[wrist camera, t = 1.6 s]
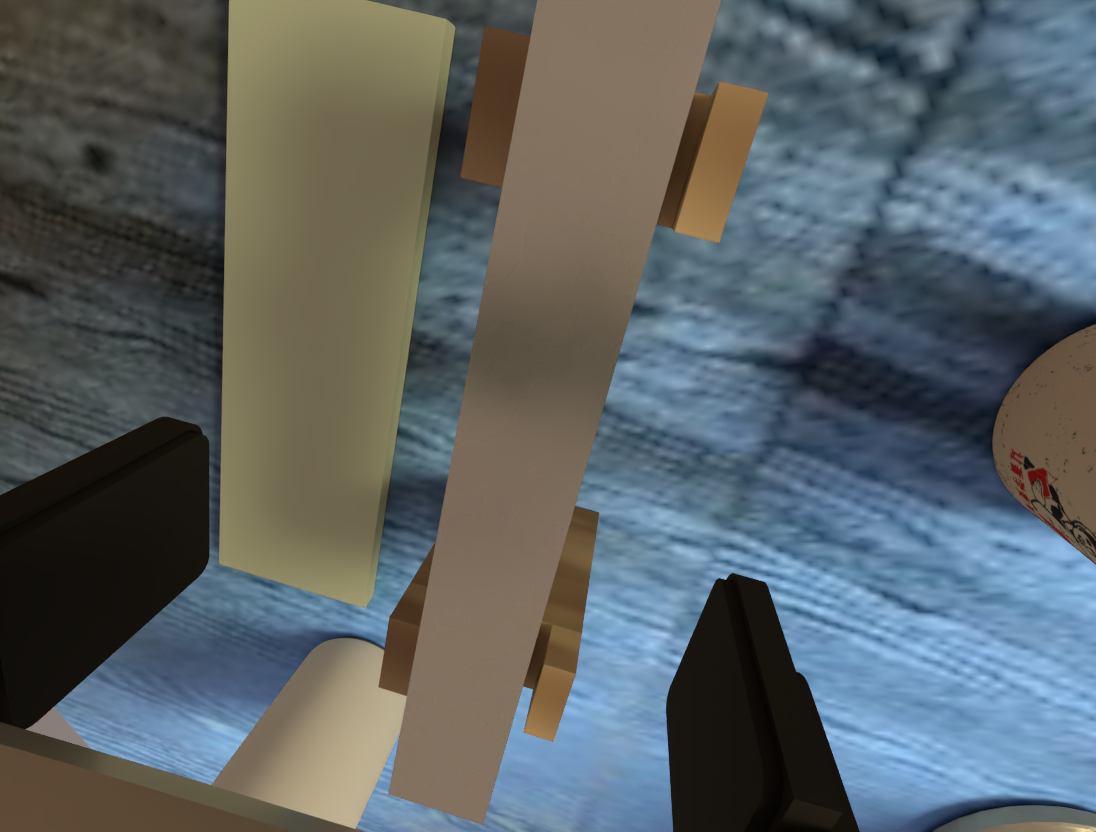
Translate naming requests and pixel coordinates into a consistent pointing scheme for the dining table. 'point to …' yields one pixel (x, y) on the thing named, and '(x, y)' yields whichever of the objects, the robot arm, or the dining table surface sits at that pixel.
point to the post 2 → (702, 158)
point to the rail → (542, 366)
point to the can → (322, 736)
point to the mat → (321, 277)
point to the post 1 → (554, 641)
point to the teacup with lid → (1054, 439)
